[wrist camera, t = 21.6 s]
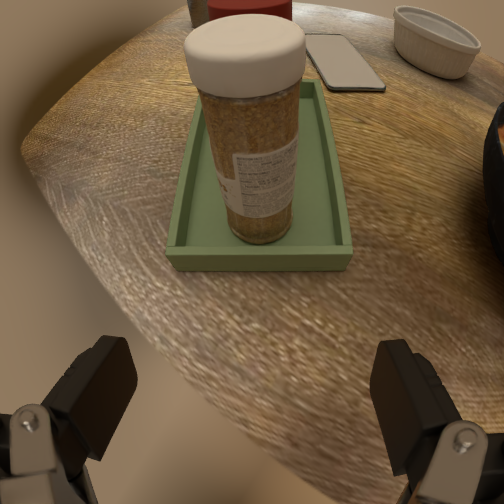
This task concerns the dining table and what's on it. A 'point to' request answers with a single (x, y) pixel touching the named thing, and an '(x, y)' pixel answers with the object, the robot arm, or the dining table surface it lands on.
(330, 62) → the smartphone
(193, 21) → the grey tin
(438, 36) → the ramekin
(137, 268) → the dining table surface
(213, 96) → the sprinkles bottle
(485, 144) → the bowl
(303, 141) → the tray
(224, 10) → the spice bottle
